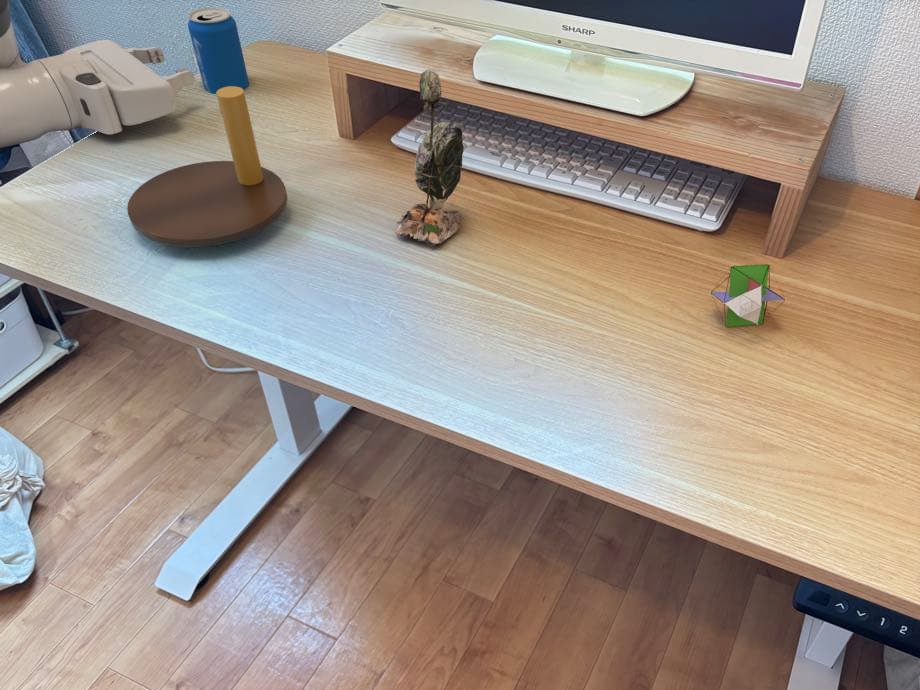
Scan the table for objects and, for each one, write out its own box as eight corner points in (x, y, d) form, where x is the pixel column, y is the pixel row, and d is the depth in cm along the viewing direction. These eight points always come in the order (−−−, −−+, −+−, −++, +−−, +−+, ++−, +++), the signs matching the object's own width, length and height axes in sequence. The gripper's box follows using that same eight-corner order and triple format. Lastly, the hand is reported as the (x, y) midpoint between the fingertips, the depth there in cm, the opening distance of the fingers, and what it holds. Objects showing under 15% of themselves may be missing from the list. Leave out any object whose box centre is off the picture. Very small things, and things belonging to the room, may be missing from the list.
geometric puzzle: (700, 276, 88) (725, 252, 80) (759, 273, 89) (789, 249, 81) (707, 339, 87) (733, 321, 80) (767, 335, 88) (798, 317, 80)
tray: (100, 205, 94) (61, 107, 86) (231, 153, 104) (207, 61, 96) (185, 266, 86) (151, 165, 78) (318, 204, 96) (301, 108, 88)
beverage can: (198, 97, 120) (176, 13, 111) (236, 85, 123) (217, 3, 115) (222, 111, 117) (201, 26, 108) (260, 98, 120) (242, 15, 112)
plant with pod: (486, 213, 100) (485, 51, 86) (432, 256, 93) (421, 86, 79) (434, 194, 103) (425, 34, 88) (378, 233, 96) (358, 66, 81)
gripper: (55, 86, 113) (150, 63, 120) (116, 140, 103) (215, 110, 109) (37, 41, 108) (137, 19, 115) (99, 92, 98) (204, 64, 105)
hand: (176, 64), depth 112 cm, fingers open, 8 cm apart
